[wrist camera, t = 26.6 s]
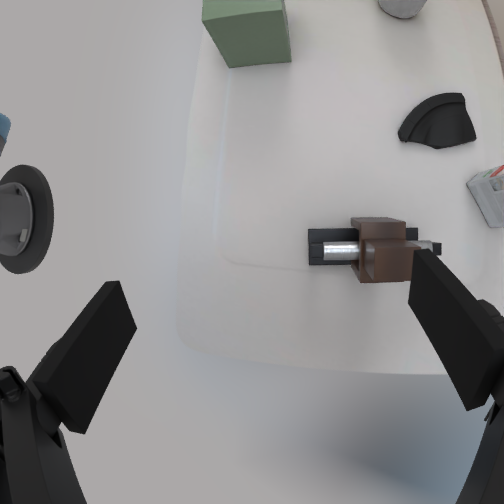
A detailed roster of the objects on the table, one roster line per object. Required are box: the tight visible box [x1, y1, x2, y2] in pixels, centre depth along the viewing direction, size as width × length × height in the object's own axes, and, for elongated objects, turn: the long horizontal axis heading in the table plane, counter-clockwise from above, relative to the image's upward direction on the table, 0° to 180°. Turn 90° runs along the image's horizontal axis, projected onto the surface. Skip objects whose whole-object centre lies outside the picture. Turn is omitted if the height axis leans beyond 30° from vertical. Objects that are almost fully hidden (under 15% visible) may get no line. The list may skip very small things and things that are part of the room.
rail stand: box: [308, 228, 441, 265], centre depth 38 cm, size 16×5×11 cm, turn 92°
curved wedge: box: [398, 93, 476, 149], centre depth 39 cm, size 8×14×2 cm, turn 105°
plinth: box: [202, 0, 291, 68], centre depth 37 cm, size 10×10×14 cm
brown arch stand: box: [351, 217, 421, 283], centre depth 33 cm, size 5×6×14 cm
